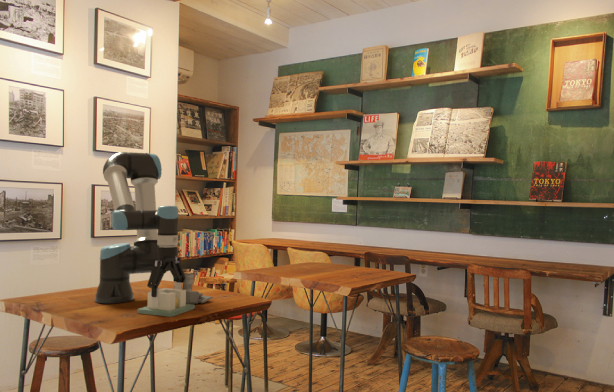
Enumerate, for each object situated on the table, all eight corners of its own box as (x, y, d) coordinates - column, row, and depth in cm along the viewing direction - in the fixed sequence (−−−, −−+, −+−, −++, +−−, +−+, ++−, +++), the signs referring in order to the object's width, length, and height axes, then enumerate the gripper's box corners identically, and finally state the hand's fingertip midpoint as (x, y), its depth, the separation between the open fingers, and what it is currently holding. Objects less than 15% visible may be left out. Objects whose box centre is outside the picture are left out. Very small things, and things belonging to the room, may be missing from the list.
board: (137, 313, 184) (137, 294, 184) (162, 305, 198) (162, 287, 198) (171, 316, 179) (171, 297, 179) (194, 308, 193) (195, 290, 193)
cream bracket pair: (185, 305, 192) (185, 289, 192) (169, 310, 182) (169, 294, 182) (164, 303, 195) (164, 287, 195) (147, 308, 186) (147, 292, 186)
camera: (174, 273, 199) (198, 273, 212) (171, 303, 198) (195, 301, 211) (191, 275, 195) (214, 274, 208) (189, 305, 194) (212, 303, 207)
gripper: (154, 249, 176) (154, 309, 176) (194, 244, 199) (193, 297, 199) (137, 248, 179) (136, 307, 178) (178, 243, 202) (177, 295, 202)
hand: (166, 302), depth 189 cm, fingers open, 13 cm apart
